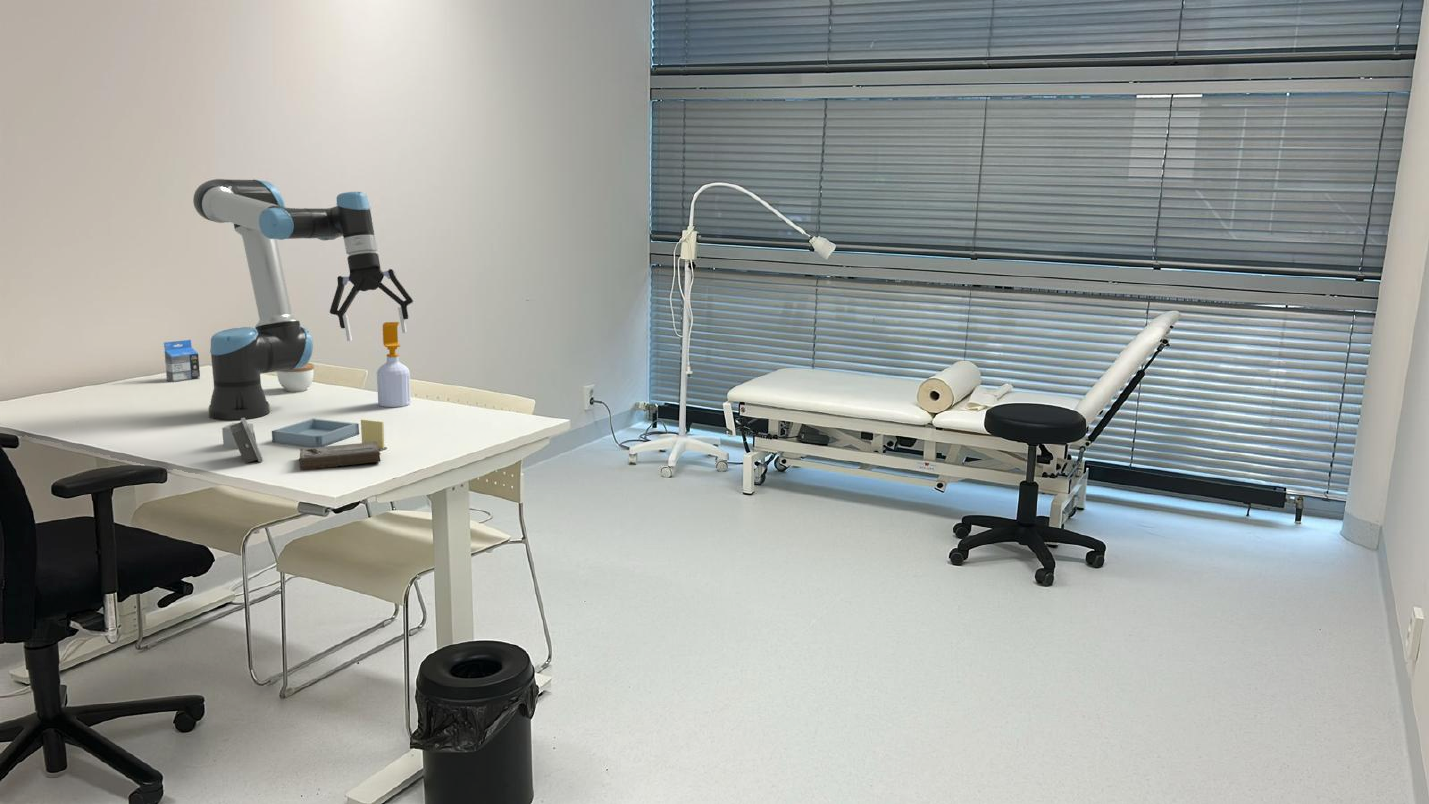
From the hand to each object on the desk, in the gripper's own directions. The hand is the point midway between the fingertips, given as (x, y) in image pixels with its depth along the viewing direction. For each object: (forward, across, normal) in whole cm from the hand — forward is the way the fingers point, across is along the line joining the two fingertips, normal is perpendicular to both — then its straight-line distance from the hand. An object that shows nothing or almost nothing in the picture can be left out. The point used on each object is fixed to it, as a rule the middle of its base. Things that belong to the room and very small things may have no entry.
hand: (377, 336), depth 247 cm
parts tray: (+23, -19, -1) cm, 30 cm away
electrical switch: (+24, -30, -20) cm, 44 cm away
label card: (+27, -4, -13) cm, 30 cm away
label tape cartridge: (+2, -73, +77) cm, 106 cm away
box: (+29, -10, -24) cm, 39 cm away
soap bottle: (+19, -4, +37) cm, 42 cm away
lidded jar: (+10, -36, +60) cm, 70 cm away
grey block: (+21, -35, -7) cm, 42 cm away
